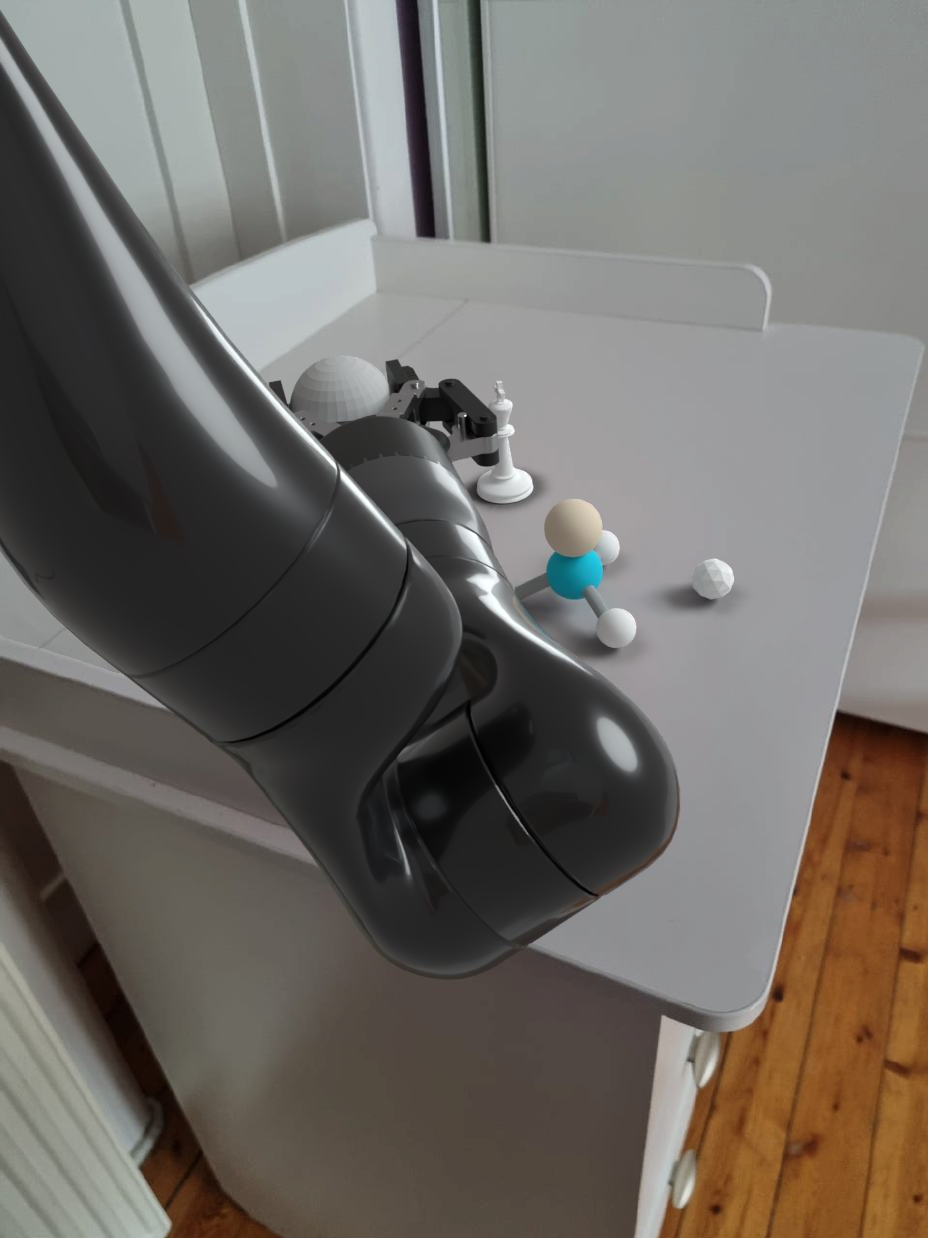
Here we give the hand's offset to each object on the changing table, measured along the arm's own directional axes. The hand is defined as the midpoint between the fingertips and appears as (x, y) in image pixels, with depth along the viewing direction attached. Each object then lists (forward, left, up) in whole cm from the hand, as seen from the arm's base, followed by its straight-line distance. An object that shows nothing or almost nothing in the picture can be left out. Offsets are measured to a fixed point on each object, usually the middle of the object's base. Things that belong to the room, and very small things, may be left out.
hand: (335, 386), depth 54 cm
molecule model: (+12, -7, -20) cm, 24 cm away
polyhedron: (+20, -14, -20) cm, 32 cm away
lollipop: (-1, -2, -13) cm, 13 cm away
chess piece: (+22, +8, -20) cm, 31 cm away
